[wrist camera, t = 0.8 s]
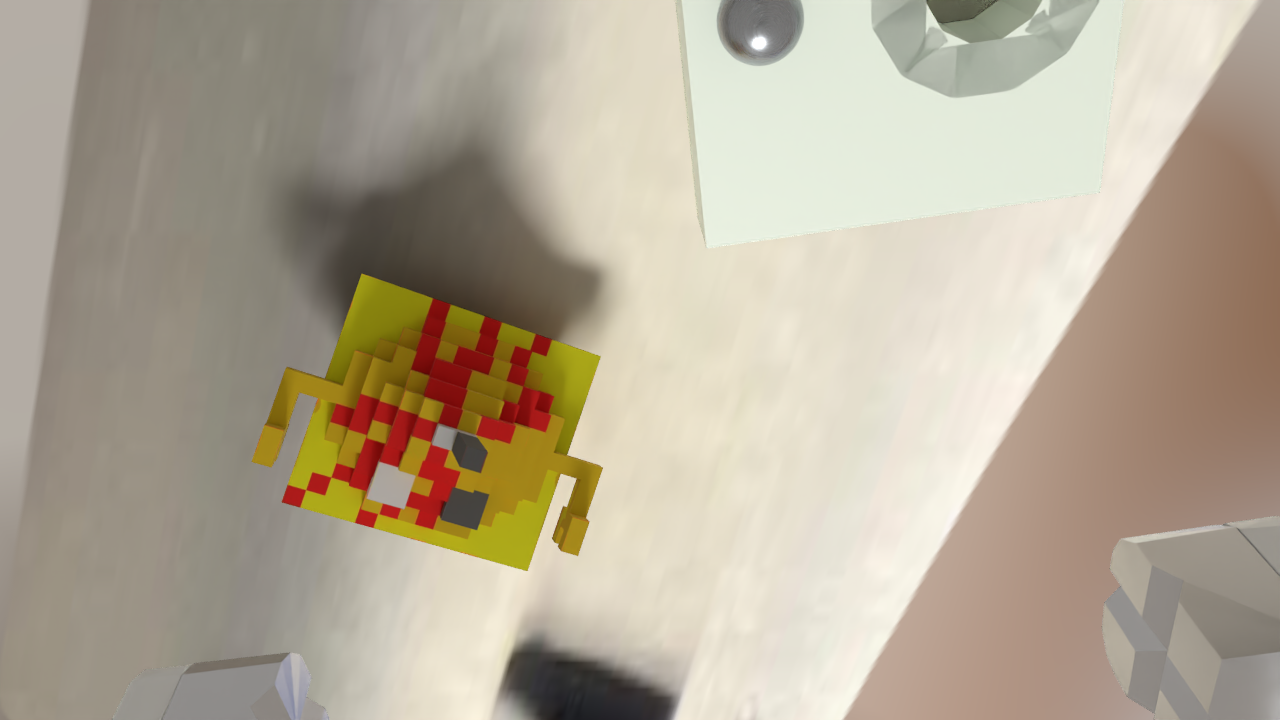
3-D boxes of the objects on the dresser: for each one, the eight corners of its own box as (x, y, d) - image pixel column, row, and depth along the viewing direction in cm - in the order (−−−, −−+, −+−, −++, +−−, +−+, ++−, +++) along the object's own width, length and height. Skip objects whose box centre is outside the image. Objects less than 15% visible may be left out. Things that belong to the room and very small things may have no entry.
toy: (262, 464, 46) (209, 539, 31) (332, 266, 46) (311, 250, 32) (535, 543, 49) (601, 643, 35) (599, 359, 50) (689, 382, 35)
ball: (707, -27, 35) (718, -10, 32) (793, -40, 34) (811, -24, 32) (715, 59, 36) (726, 82, 34) (796, 47, 36) (814, 69, 33)
